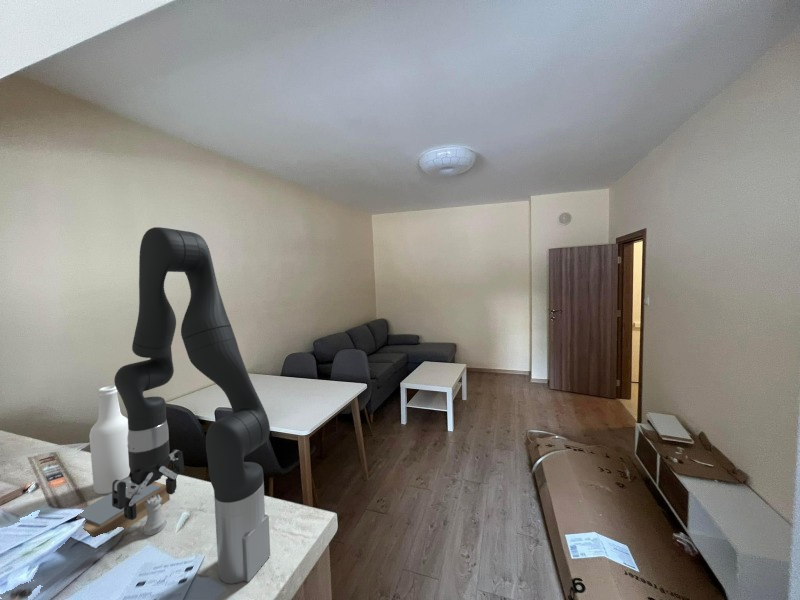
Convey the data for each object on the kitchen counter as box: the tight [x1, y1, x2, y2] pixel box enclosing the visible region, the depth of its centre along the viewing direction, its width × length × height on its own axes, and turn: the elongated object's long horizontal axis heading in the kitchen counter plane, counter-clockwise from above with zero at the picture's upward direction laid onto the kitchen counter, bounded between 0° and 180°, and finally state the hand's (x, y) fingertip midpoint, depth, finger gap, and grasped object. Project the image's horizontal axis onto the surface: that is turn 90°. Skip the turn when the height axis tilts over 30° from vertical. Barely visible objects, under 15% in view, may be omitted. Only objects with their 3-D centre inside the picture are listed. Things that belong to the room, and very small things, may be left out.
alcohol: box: [88, 385, 131, 495], centre depth 87 cm, size 9×9×30 cm
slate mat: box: [77, 483, 161, 526], centre depth 76 cm, size 10×13×1 cm
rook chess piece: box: [142, 495, 168, 537], centre depth 72 cm, size 4×4×8 cm
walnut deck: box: [76, 481, 171, 537], centre depth 76 cm, size 12×16×4 cm
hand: (152, 504), depth 72 cm, fingers open, 8 cm apart
